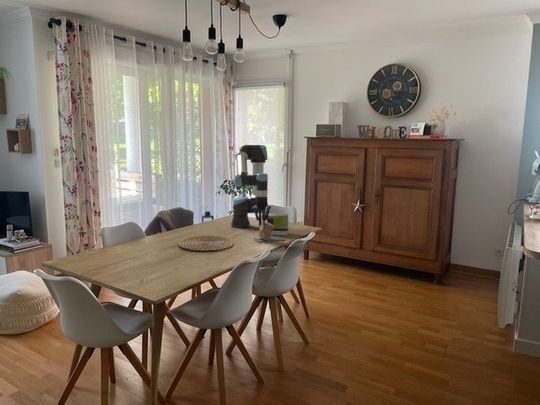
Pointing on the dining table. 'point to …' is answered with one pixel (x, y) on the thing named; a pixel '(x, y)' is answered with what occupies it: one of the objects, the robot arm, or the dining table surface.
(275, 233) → the tea box
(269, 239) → the slate mat
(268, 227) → the tan upright block
